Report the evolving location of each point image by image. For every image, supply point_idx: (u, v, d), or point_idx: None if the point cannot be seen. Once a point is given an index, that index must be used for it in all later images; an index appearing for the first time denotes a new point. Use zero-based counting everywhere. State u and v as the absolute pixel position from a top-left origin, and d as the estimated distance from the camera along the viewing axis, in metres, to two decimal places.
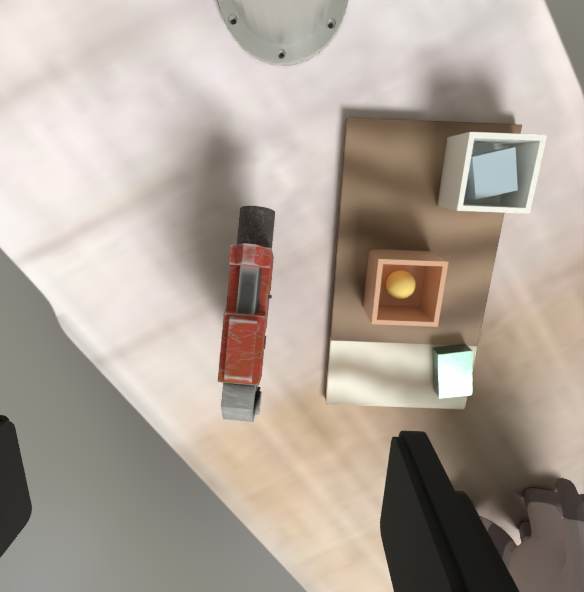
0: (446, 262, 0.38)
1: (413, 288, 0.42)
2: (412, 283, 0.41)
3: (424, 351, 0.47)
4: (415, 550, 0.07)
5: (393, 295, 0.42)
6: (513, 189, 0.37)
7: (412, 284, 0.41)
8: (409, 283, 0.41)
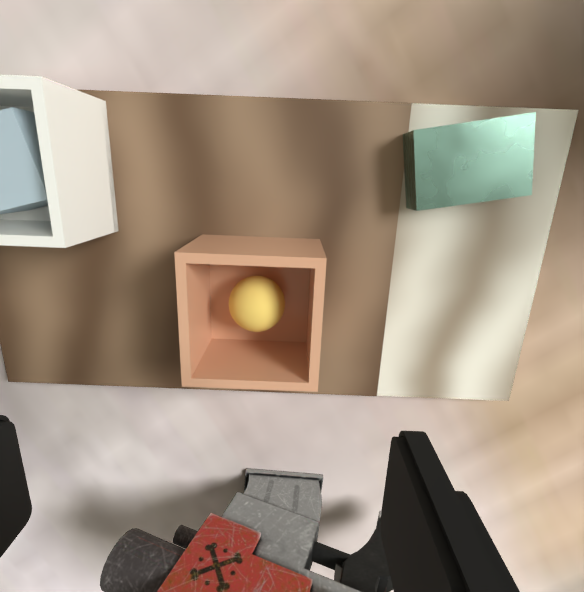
0: (176, 256, 0.18)
1: (256, 289, 0.21)
2: (245, 293, 0.21)
3: (413, 223, 0.23)
4: (415, 550, 0.07)
5: (273, 323, 0.21)
6: (12, 117, 0.17)
7: (247, 293, 0.21)
8: (243, 302, 0.20)
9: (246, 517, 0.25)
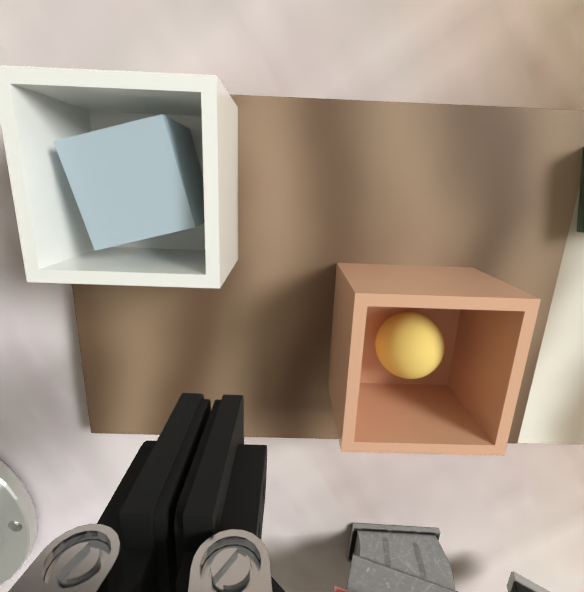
0: (357, 297, 0.14)
1: (421, 331, 0.17)
2: (408, 335, 0.17)
3: (582, 249, 0.20)
4: None
5: (433, 369, 0.18)
6: (160, 126, 0.13)
7: (410, 336, 0.17)
8: (406, 346, 0.17)
9: (374, 589, 0.22)
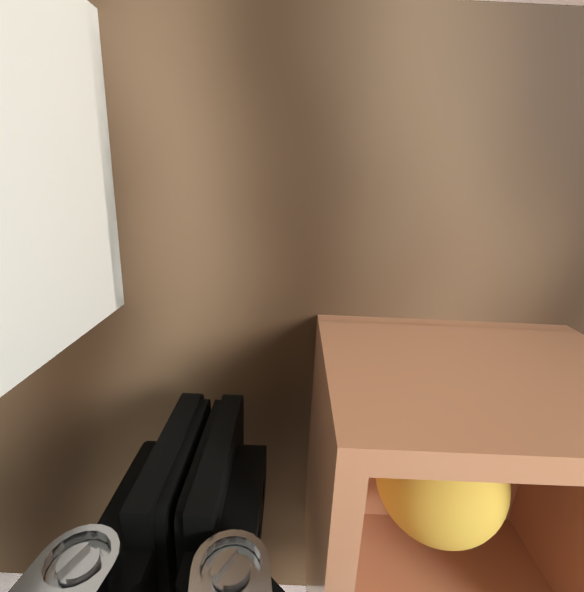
0: (342, 457, 0.06)
1: None
2: None
3: None
4: None
5: None
6: None
7: None
8: (424, 496, 0.08)
9: None
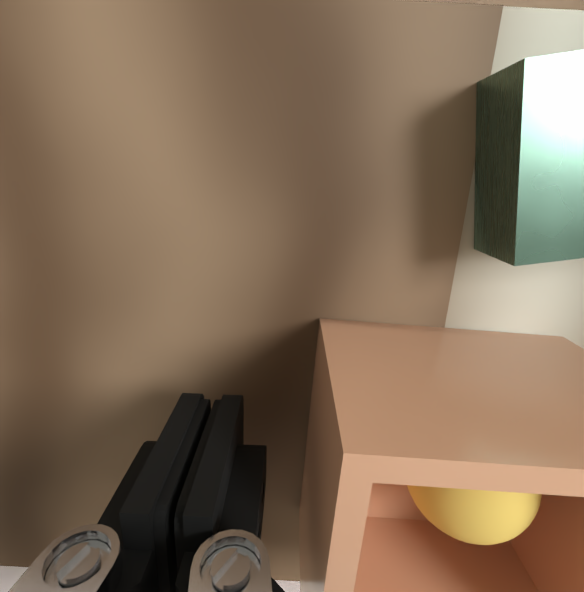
0: (347, 463, 0.06)
1: None
2: None
3: (487, 282, 0.11)
4: None
5: None
6: None
7: None
8: None
9: None
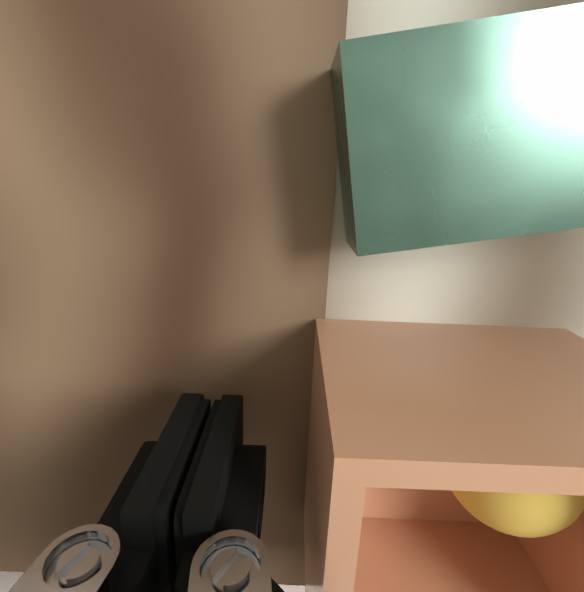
0: (339, 467, 0.06)
1: None
2: None
3: (364, 274, 0.10)
4: None
5: None
6: None
7: None
8: None
9: None
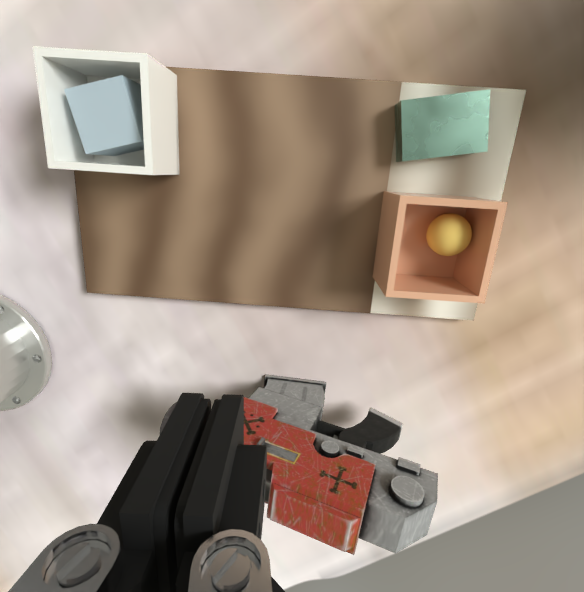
0: (401, 198, 0.25)
1: (458, 216, 0.28)
2: (454, 218, 0.28)
3: (401, 174, 0.30)
4: None
5: None
6: (121, 82, 0.25)
7: (455, 218, 0.28)
8: (457, 223, 0.28)
9: (266, 401, 0.33)
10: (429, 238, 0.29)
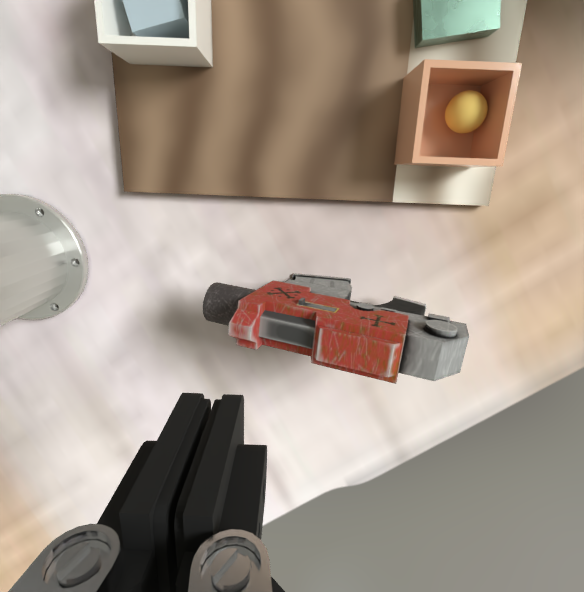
0: (425, 62, 0.27)
1: (475, 91, 0.31)
2: (471, 92, 0.30)
3: (419, 61, 0.32)
4: None
5: (485, 117, 0.31)
6: None
7: (473, 92, 0.30)
8: (475, 95, 0.30)
9: None
10: (448, 115, 0.31)
